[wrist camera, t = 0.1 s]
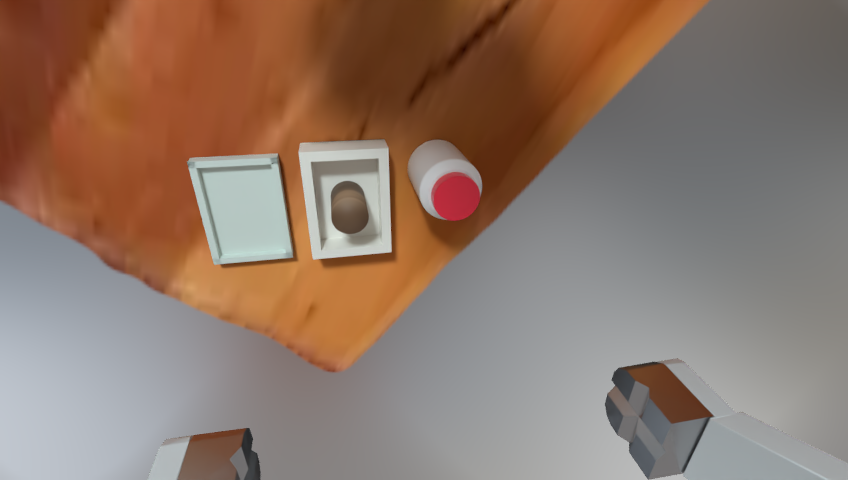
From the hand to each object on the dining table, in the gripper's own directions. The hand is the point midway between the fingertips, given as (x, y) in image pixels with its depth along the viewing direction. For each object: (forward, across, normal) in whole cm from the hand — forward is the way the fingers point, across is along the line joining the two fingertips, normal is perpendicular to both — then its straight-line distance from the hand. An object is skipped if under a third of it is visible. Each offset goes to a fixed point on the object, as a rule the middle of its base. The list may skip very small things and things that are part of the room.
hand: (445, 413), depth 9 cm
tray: (+48, +14, +15) cm, 52 cm away
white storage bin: (+48, +1, +14) cm, 50 cm away
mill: (+47, +1, +14) cm, 49 cm away
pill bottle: (+48, -11, +11) cm, 51 cm away
